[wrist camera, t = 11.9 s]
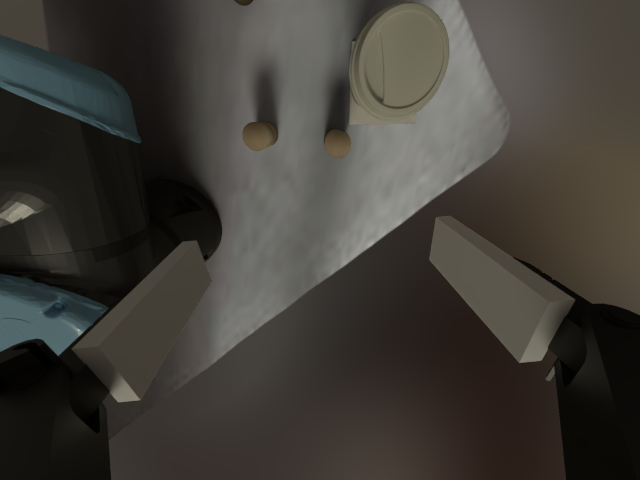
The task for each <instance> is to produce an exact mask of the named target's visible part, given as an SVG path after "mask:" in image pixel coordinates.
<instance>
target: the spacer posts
mask: <svg viewBox="0 0 640 480" xmlns="http://www.w3.org/2000/svg"><path fill="white" fill-rule="evenodd" d="M235 1H236V2H237V3H238V4H240V5H243V6H246V5H249V4H250V3H252V1H253V0H235ZM242 136H243V140H244V143H245V144H246V146H247V147H249V148H250V149H252V150H255V151H260V150H263V149H265V148H267V147H269V146H271V145H273V144H274V143H276V141H277V139H278V131H277V129H276V127H275V126H274V125H273V124H271V123H268V122H251V123H249V124H247V125H246V126H245V127H244V129H243V133H242ZM324 144H325V147H326V150H327V152H328V154H329V155H330V156H332V157H334V158H342V157H344V156H345V155H347V154H348V152H349V151H350V148H351V140H350V137H349V135H348V134H347V133H345V132H344V131H341V130H338V129H332V130H330V131H328V132H327V133H326V135H325V137H324Z"/></svg>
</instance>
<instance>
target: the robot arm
mask: <svg viewBox="0 0 640 480" xmlns="http://www.w3.org/2000/svg"><path fill="white" fill-rule="evenodd" d="M139 143H141V137H139V136H138V133H137V128H136V123H135V118H134V114H133V109H132V104H131V100H130V97H129V95H128V93H127V92H126V90H125V89H124V88H123V87H122V86H121V85H120V84H119V83H118V82H117V81H116V80H115V79H113V78H112V77H110V76H109V75H107V74H105V73H103V72H101V71H99V70H97V69H94V68H92V67H89V66H87V65H84V64H81V63H79V62H76V61H73V60H71V59H68V58H65V57H63V56H60V55H57V54H54V53H52V52H49V51H46V50H43V49H40V48H38V47H34V46H32V45H29V44H26V43H23V42H21V41H18V40H15V39H12V38H9V37H6V36H3V35H0V480H111V471H110V456H109V441H108V426H107V411H106V408H105V406H104V404H103V403H102V402H103V400H104V399H105V397H106V396H107V395H108V393H109V392H110V393H111V395H112V396H113V397H114V398H115V399H116V400H117V401H118V402H126V401H136V400H141V398H142V397H143V395H144V393H145V392H146V390H147V388H148V387H149V385H150V383H151V382H152V380H153V378H154V377H155V375H156V373H157V372H158V370H159V368H160V367H161V365H162V363H163V362H164V360H165V358H166V357H167V355H168V353H169V352H170V350H171V348H172V347H173V345H174V343H175V342H176V340H177V338H178V337H179V335H180V333H181V332H182V330H183V328H184V327H185V325H186V323H187V322H188V320H189V318H190V316H191V315H192V313H193V311H194V310H195V308H196V306H197V305H198V303H199V301H200V300H201V298H202V296H203V295H204V293H205V291H206V290H207V288H208V286H209V285H210V283H211V281H212V280H211V277H210V275H209V272H208V269H207V267H206V264H205V262H206V261H207V260H208V259H209V258H210V257H211V256H212V255H213V253H214V252H215V251H216V249H217V248H218V246H219V244H220V241H221V236H222V229H221V223H220V220H219V217H218V215H217V213H216V211H215V209H214V208H213V206H212V205H211V204H210V202H209V201H208V200H207V199H206V198H205V197H204V196H203V195H201V194H200V193H199V192H198V191H196V190H195V189H193V188H191V187H189V186H188V185H185V184H183V183H180V182H177V181H173V180H166V179H157V180H151V181H148V182H145V181H144V174H143V167H142V160H141V152H140V144H139ZM429 260H430V261H431V262H432V263H433V265H434V266H435V267H436V268H437V269H438V270H439V271H440V273H441V274H442V275H443V276H444V277H445V278H446V279H447V281H448V282H449V283H450V284H451V285H452V286H453V287H454V289H455V290H456V291H457V292H458V293H459V294H460V295H461V297H462V298H463V299H464V300H465V301H466V302H467V303H468V305H469V306H470V307H471V308H472V309H473V310H474V311H475V313H476V314H477V315H478V316H479V317H480V318H481V320H482V321H483V322H484V323H485V324H486V325H487V326H488V327H489V329H490V330H491V331H492V332H493V333H494V334H495V336H496V337H497V338H498V339H499V340H500V341H501V342H502V343H503V345H504V346H505V347H506V348H507V349H508V350H509V351H510V353H511V354H512V355H513V356H514V357H515V358H516V360H517V361H518V362H519V363H522V362H532V361H541V360H542V359H543V357H544V355H545V353H546V351H547V350H548V349H550V350H551V351H552V352H553V353H554V354H555V355H556V356H557V359H556V360H555V362H554V364H553V365H552V367H551V369H550V370H549V372H548V374H547V376H546V380H549V381H550V380H551V379H552V377H553V376H555V379H556V389H557V398H558V408H559V417H560V427H561V435H562V445H563V455H564V464H565V474H566V480H640V315H638V314H635V313H633V312H631V311H629V310H626V309H623V308H620V307H617V306H613V305H608V304H592V303H590V302H589V301H587V300H585V299H584V298H582V297H581V296H579V295H577V294H576V293H575V292H573V291H571V290H570V289H568V288H567V287H565V286H564V285H562V284H560V283H559V282H557V281H556V280H552V278H551V277H550V276H548V275H547V274H545V273H542V272H541V271H540V270H539V269H537V268H536V267H534V266H532V265H531V264H529V263H527V262H525V261H522V260H519V259H517V258H515V257H514V258H512V257H511V256H509V255H508V254H506V253H505V252H503V251H502V250H500V249H499V248H497V247H496V246H494V245H493V244H491V243H490V242H488V241H487V240H485V239H484V238H482V237H481V236H479V235H478V234H476V233H475V232H473V231H472V230H470V229H469V228H467V227H466V226H464V225H463V224H461V223H460V222H458V221H457V220H455V219H454V218H452V217H451V216H444V217H436V222H435V228H434V234H433V240H432V246H431V253H430V259H429Z"/></svg>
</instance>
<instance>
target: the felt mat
mask: <svg viewBox="0 0 640 480" xmlns="http://www.w3.org/2000/svg"><path fill="white" fill-rule="evenodd" d="M355 42H356V41H352V50H353V47H354V44H355ZM352 50H351V53H352ZM415 115H416V113H415V114H413V115H412V116H410V117H408V118H405V119H403V120H399V121H382V120H378V119H376V118H373V117H372V116H370V115H368V114H367V113H366V112H365V111H364V110H363V109H362V108H361V107H360V106H358V105H357V103H356V102H355V101H354V99H353V97H352V94H351V84H350V107H349V125H363V124H414V122H415Z"/></svg>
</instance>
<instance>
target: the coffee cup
mask: <svg viewBox="0 0 640 480" xmlns="http://www.w3.org/2000/svg"><path fill="white" fill-rule="evenodd" d="M448 60H449V39H448V35H447V31H446V28H445V26H444V24H443V22H442V20H441V19H440V17H439V16H438V15H437V14H436V13H435V12H434V11H433V10H432V9H430V8H429V7H427V6H425V5H422V4H418V3H411V2H402V3H397V4H394V5H391V6H389V7H387V8H385V9H383V10H381V11H380V12H379V13H377V14H376V15H375V16H374V17H372V18H371V19H370V20H369V21H368V23H367V24H366V25H365V26H364V28H363V29H362V30H361V32H360V34H359V35H358V37H357V39H356V42H355V44H354V47H353V50H352V53H351V58H350V65H349V77H350V84H351V94H352V97H353V99H354V101H355V102H356V103H357V105H358V106H360V107H361V108H362V109H363V110H364V111H365V112H366V113H367V114H368V115H370V116H372V117H373V118H376V119H378V120H382V121H399V120H403V119H405V118H408V117H410V116H412V115H413V114H415V113H416V112H418V111H419V110H421V109H422V108H423V107H424V106H425V105H426V104H427V103H428V102H429V101H430V100H431V99H432V97H433V96H434V94H435V93H436V91H437V90H438V88H439V86H440V84H441V82H442V80H443V78H444V75H445V72H446V69H447V65H448Z"/></svg>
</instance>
